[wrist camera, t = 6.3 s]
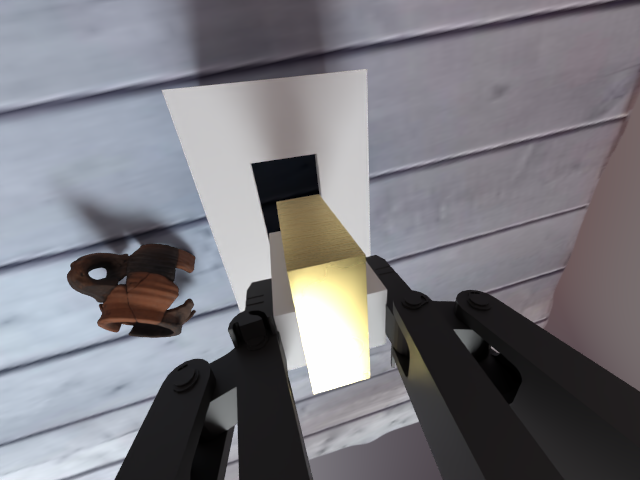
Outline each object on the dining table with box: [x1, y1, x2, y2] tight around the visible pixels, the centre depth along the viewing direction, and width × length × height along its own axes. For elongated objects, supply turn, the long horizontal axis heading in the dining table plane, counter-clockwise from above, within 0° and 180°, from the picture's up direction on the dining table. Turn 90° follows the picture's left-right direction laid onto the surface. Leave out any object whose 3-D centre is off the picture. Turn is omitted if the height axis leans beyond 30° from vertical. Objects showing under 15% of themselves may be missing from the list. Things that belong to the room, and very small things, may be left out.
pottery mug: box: [67, 244, 196, 338], centre depth 26 cm, size 12×10×8 cm
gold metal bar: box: [276, 194, 370, 394], centre depth 12 cm, size 2×6×7 cm, turn 7°
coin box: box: [162, 69, 370, 312], centre depth 23 cm, size 12×18×10 cm, turn 7°
